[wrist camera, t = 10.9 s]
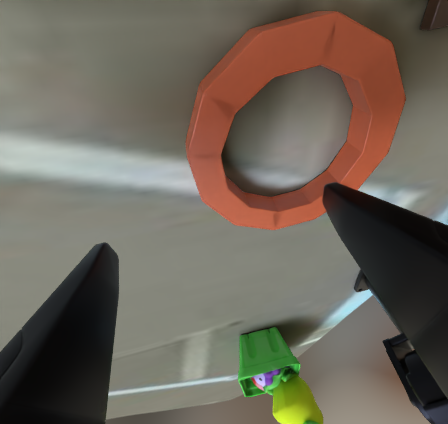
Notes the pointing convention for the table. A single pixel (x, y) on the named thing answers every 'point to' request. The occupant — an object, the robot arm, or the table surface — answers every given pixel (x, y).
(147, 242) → the table surface
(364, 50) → the ring
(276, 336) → the fruit basket
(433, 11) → the peg stand
